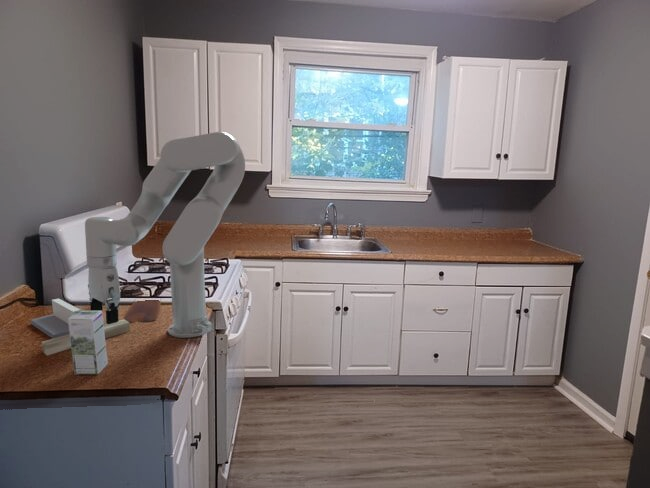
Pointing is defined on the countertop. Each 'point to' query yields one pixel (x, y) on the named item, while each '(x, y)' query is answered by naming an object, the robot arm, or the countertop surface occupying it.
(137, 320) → the wooden tablet
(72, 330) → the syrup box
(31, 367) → the countertop surface
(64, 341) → the birch beam
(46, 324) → the stand
